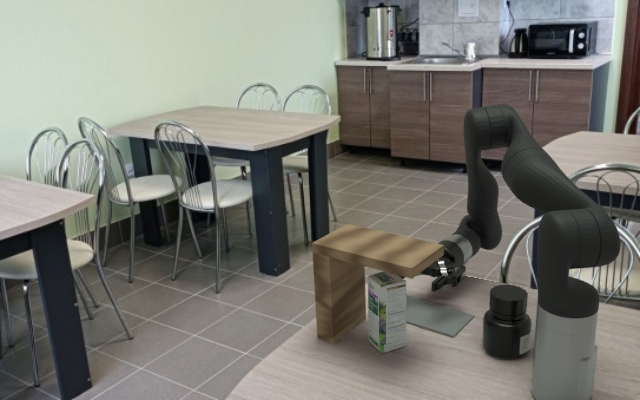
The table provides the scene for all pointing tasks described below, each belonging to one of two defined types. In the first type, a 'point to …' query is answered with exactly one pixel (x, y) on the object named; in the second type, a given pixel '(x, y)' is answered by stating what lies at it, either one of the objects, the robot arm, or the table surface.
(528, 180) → the robot arm
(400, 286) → the syrup box
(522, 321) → the ink bottle
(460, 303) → the table surface
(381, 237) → the shelf
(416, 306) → the mat
